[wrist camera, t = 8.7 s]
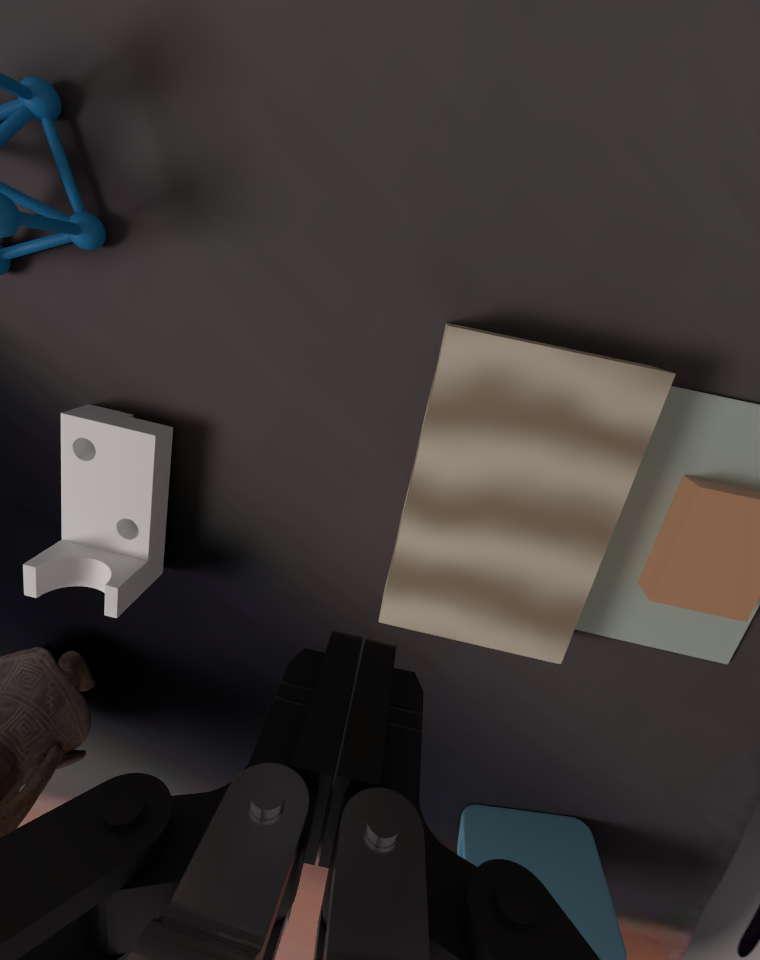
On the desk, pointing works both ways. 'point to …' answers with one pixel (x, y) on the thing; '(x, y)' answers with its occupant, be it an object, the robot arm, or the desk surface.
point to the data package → (549, 865)
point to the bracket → (108, 507)
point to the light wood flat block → (517, 489)
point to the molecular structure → (81, 226)
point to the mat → (669, 455)
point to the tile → (707, 551)
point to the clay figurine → (38, 725)
